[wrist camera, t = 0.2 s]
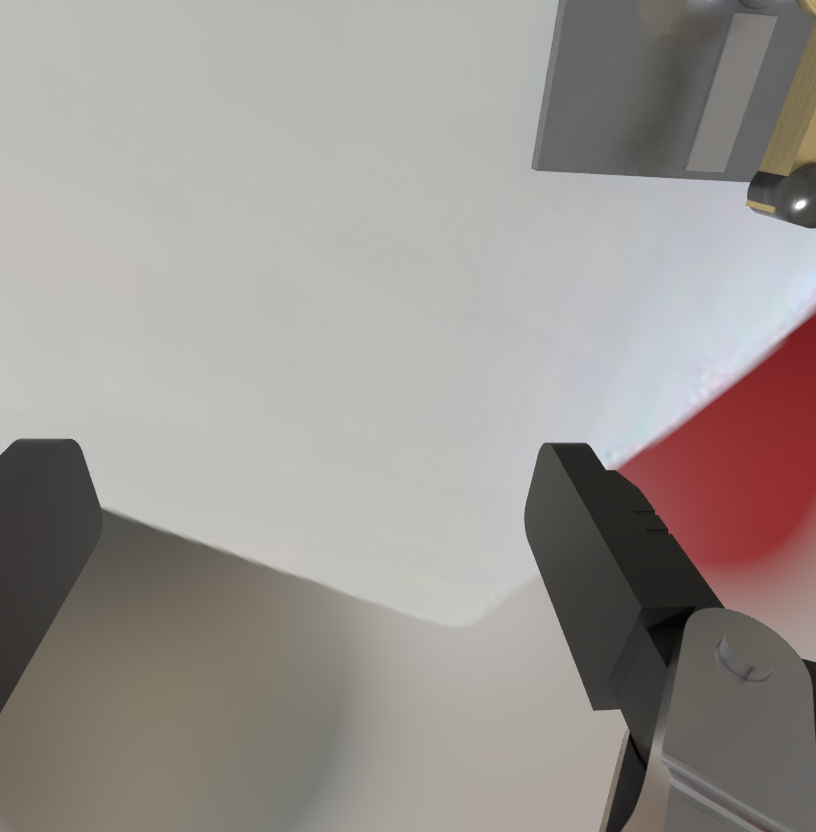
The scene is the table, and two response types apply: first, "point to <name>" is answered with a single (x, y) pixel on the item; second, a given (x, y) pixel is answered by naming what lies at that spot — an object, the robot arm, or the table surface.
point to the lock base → (667, 86)
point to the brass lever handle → (792, 147)
